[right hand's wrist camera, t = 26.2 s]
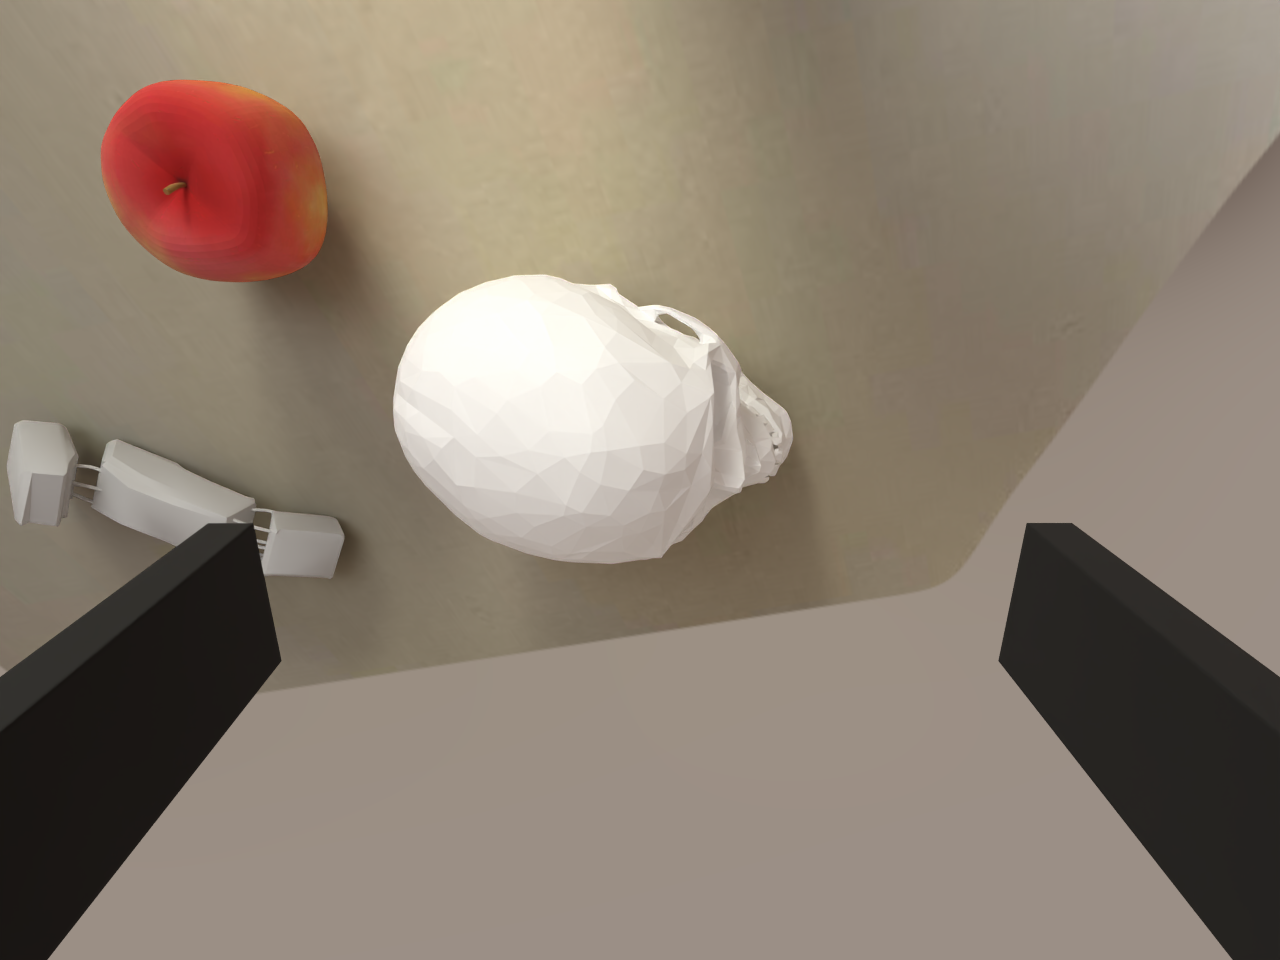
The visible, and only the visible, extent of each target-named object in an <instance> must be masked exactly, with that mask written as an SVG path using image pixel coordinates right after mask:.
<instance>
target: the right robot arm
mask: <svg viewBox="0 0 1280 960" xmlns="http://www.w3.org/2000/svg"><path fill="white" fill-rule="evenodd" d="M280 662H281V656H280V651H279V646H278V642H277V637H276V632H275V627H274V622H273V617H272V612H271V607H270V602H269V598H268V593H267V588H266V583H265V578H264V573H263V568H262V563H261V559H260V554H259V549H258V544H257V539H256V534H255V529H254V524H253V523H208V524H206V525H205V526H204V527H202V528H201V529H200V530H198V531H197V532H196V533H194V534H193V535H191V536H190V537H189V538H187V539H186V540H185V541H183V542H182V543H181V544H179V545H178V546H177V547H175V548H174V549H173V550H171V551H170V552H169V553H167V554H166V555H164V556H163V557H162V558H160V559H159V560H158V561H156V562H155V563H154V564H152V565H151V566H150V567H148V568H147V569H146V570H144V571H143V572H141V573H140V574H139V575H137V576H136V577H135V578H133V579H132V580H131V581H129V582H128V583H127V584H125V585H124V586H123V587H121V588H120V589H119V590H117V591H116V592H114V593H113V594H112V595H110V596H109V597H108V598H106V599H105V600H104V601H102V602H101V603H100V604H98V605H97V606H96V607H94V608H93V609H92V610H90V611H89V612H87V613H86V614H85V615H83V616H82V617H81V618H79V619H78V620H77V621H75V622H74V623H73V624H71V625H70V626H69V627H67V628H66V629H65V630H63V631H62V632H60V633H59V634H58V635H56V636H55V637H54V638H52V639H51V640H50V641H48V642H47V643H46V644H44V645H43V646H42V647H40V648H39V649H38V650H36V651H35V652H33V653H32V654H31V655H29V656H28V657H27V658H25V659H24V660H23V661H21V662H20V663H19V664H17V665H16V666H15V667H13V668H12V669H10V670H9V671H8V672H6V673H5V674H4V675H2V676H1V677H0V960H47V959H48V958H49V957H50V956H51V954H52V953H53V952H54V951H55V949H56V948H57V947H58V945H59V944H60V943H61V942H62V940H63V939H64V938H65V936H66V935H67V934H68V933H69V931H70V930H71V929H72V928H73V926H74V925H75V924H76V922H77V921H78V920H79V919H80V917H81V916H82V915H83V914H84V912H85V911H86V910H87V908H88V907H89V906H90V905H91V903H92V902H93V901H94V899H95V898H96V897H97V896H98V894H99V893H100V892H101V891H102V889H103V888H104V887H105V885H106V884H107V883H108V882H109V880H110V879H111V878H112V877H113V875H114V874H115V873H116V871H117V870H118V869H119V868H120V866H121V865H122V864H123V862H124V861H125V860H126V859H127V857H128V856H129V855H130V854H131V852H132V851H133V850H134V848H135V847H136V846H137V845H138V843H139V842H140V841H141V839H142V838H143V837H144V836H145V834H146V833H147V832H148V831H149V829H150V828H151V827H152V825H153V824H154V823H155V822H156V820H157V819H158V818H159V817H160V815H161V814H162V813H163V811H164V810H165V809H166V808H167V806H168V805H169V804H170V802H171V801H172V800H173V799H174V797H175V796H176V795H177V794H178V792H179V791H180V790H181V788H182V787H183V786H184V785H185V783H186V782H187V781H188V779H189V778H190V777H191V776H192V774H193V773H194V772H195V771H196V769H197V768H198V767H199V765H200V764H201V763H202V762H203V760H204V759H205V758H206V757H207V755H208V754H209V753H210V751H211V750H212V749H213V748H214V746H215V745H216V744H217V742H218V741H219V740H220V739H221V737H222V736H223V735H224V734H225V732H226V731H227V730H228V728H229V727H230V726H231V725H232V723H233V722H234V721H235V720H236V718H237V717H238V716H239V714H240V713H241V712H242V711H243V709H244V708H245V707H246V705H247V704H248V703H249V702H250V700H251V699H252V698H253V697H254V695H255V694H256V693H257V691H258V690H259V689H260V688H261V686H262V685H263V684H264V683H265V681H266V680H267V679H268V677H269V676H270V675H271V674H272V672H273V671H274V670H275V669H276V667H277V666H278V665H279V663H280ZM999 662H1000V663H1001V665H1002V666H1003V667H1004V668H1005V670H1006V671H1007V672H1008V674H1009V675H1010V676H1011V677H1012V679H1013V680H1014V681H1015V682H1016V684H1017V685H1018V686H1019V688H1020V689H1021V690H1022V691H1023V693H1024V694H1025V695H1026V697H1027V698H1028V699H1029V700H1030V702H1031V703H1032V704H1033V705H1034V707H1035V708H1036V709H1037V711H1038V712H1039V713H1040V714H1041V716H1042V717H1043V718H1044V720H1045V721H1046V722H1047V723H1048V725H1049V726H1050V727H1051V728H1052V730H1053V731H1054V732H1055V734H1056V735H1057V736H1058V737H1059V739H1060V740H1061V741H1062V743H1063V744H1064V745H1065V746H1066V748H1067V749H1068V750H1069V751H1070V753H1071V754H1072V755H1073V757H1074V758H1075V759H1076V760H1077V762H1078V763H1079V764H1080V765H1081V767H1082V768H1083V769H1084V771H1085V772H1086V773H1087V774H1088V776H1089V777H1090V778H1091V780H1092V781H1093V782H1094V783H1095V785H1096V786H1097V787H1098V788H1099V790H1100V791H1101V792H1102V794H1103V795H1104V796H1105V797H1106V799H1107V800H1108V801H1109V802H1110V804H1111V805H1112V806H1113V808H1114V809H1115V810H1116V811H1117V813H1118V814H1119V815H1120V817H1121V818H1122V819H1123V820H1124V822H1125V823H1126V824H1127V825H1128V827H1129V828H1130V829H1131V831H1132V832H1133V833H1134V834H1135V836H1136V837H1137V838H1138V839H1139V841H1140V842H1141V843H1142V845H1143V846H1144V847H1145V848H1146V850H1147V851H1148V852H1149V854H1150V855H1151V856H1152V857H1153V859H1154V860H1155V861H1156V862H1157V864H1158V865H1159V866H1160V868H1161V869H1162V870H1163V871H1164V873H1165V874H1166V875H1167V876H1168V878H1169V879H1170V880H1171V882H1172V883H1173V884H1174V885H1175V887H1176V888H1177V889H1178V891H1179V892H1180V893H1181V894H1182V896H1183V897H1184V898H1185V899H1186V901H1187V902H1188V903H1189V905H1190V906H1191V907H1192V908H1193V910H1194V911H1195V912H1196V913H1197V915H1198V916H1199V917H1200V919H1201V920H1202V921H1203V922H1204V924H1205V925H1206V926H1207V928H1208V929H1209V930H1210V931H1211V933H1212V934H1213V935H1214V936H1215V938H1216V939H1217V940H1218V942H1219V943H1220V944H1221V945H1222V947H1223V948H1224V949H1225V951H1226V952H1227V953H1228V954H1229V956H1230V957H1231V958H1232V959H1233V960H1280V677H1279V676H1278V675H1276V674H1275V673H1274V672H1272V671H1271V670H1269V669H1268V668H1267V667H1265V666H1264V665H1263V664H1261V663H1260V662H1259V661H1257V660H1256V659H1255V658H1253V657H1252V656H1251V655H1249V654H1248V653H1246V652H1245V651H1244V650H1242V649H1241V648H1240V647H1238V646H1237V645H1236V644H1234V643H1233V642H1232V641H1230V640H1229V639H1228V638H1226V637H1225V636H1224V635H1222V634H1221V633H1219V632H1218V631H1217V630H1215V629H1214V628H1213V627H1211V626H1210V625H1209V624H1207V623H1206V622H1205V621H1203V620H1202V619H1201V618H1199V617H1198V616H1197V615H1195V614H1194V613H1193V612H1191V611H1190V610H1188V609H1187V608H1186V607H1184V606H1183V605H1182V604H1180V603H1179V602H1178V601H1176V600H1175V599H1174V598H1172V597H1171V596H1170V595H1168V594H1167V593H1165V592H1164V591H1163V590H1161V589H1160V588H1159V587H1157V586H1156V585H1155V584H1153V583H1152V582H1151V581H1149V580H1148V579H1147V578H1145V577H1144V576H1143V575H1141V574H1140V573H1138V572H1137V571H1136V570H1134V569H1133V568H1132V567H1130V566H1129V565H1128V564H1126V563H1125V562H1124V561H1122V560H1121V559H1120V558H1118V557H1117V556H1116V555H1114V554H1113V553H1111V552H1110V551H1109V550H1107V549H1106V548H1105V547H1103V546H1102V545H1101V544H1099V543H1098V542H1097V541H1095V540H1094V539H1093V538H1091V537H1090V536H1088V535H1087V534H1086V533H1084V532H1083V531H1082V530H1080V529H1079V528H1078V527H1076V526H1075V525H1074V524H1072V523H1027V524H1026V530H1025V534H1024V539H1023V544H1022V549H1021V554H1020V559H1019V563H1018V568H1017V573H1016V578H1015V583H1014V588H1013V593H1012V598H1011V602H1010V607H1009V612H1008V617H1007V622H1006V627H1005V632H1004V637H1003V642H1002V646H1001V651H1000V656H999Z"/></svg>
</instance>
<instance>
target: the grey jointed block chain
mask: <svg viewBox="0 0 1280 960" xmlns="http://www.w3.org/2000/svg"><path fill="white" fill-rule="evenodd" d="M78 457H79V456H78V454H77V451H76V449H75V446H74V444H73V441H72V439H71V437H70V434H69V432H68V429H67V428H66V427H65V426H64V425H62V424H60V423H53V422H40V421H28V420H22V421H20V422H17V423H16V424H14V429H13V435H12V440H11V445H10V451H9V456H8V461H7V472H8V478H9V484H10V490H11V497H12V504H13V510H14V517H15V520H16V521H17V522H18V523H19V524H20V525H21V526H22V525H24V524H27V523H29V522H30V523H37V524H44V525H51V526H59V524H60V521H61V519H62V518H64V517H67V515H68V507H69V499H72V496H74V497H77V498H79V499H82V500H84V501H87V502H89V503H92V506H91V508H93V509H95V510H96V511H98V512H100V513H102V514H104V515H105V516H107V517H109V518H111V519H112V520H114V521H116V522H118V523H119V524H121V525H124V526H126V527H129V528H132V529H134V530H137V531H140V532H142V533H145V534H147V535H150V536H153V537H155V538H158V539H160V540H163V541H166V542H168V543H170V544H172V545H174V546H176V547H177V546H178V545H179V544H181V543H182V542H183V541H185V540H186V539H187V538H189V537H190V536H191V535H193V534H194V533H196V532H197V531H198V530H200V529H201V528H202V527H204V526H205V525H206V524H208V523H253V519H254V515H255V511H257V512H268V513H271V515H272V517H271V523H270V528H269V529H266V528H262V527H258V526H254V529H256V530H260V531H264V532H269V533H268V538H267V541H263V540H259V539H257V543H261V544H266V546H261V545H258V548H259V549H264V554H263V553H259V554H260V556H261V557H260V559H261V563H262V568H263V573H264V575H265V576H270V575H271V576H295V577H318V578H329V579H331V578H332V577H333V575H334V572H335V569H336V565H337V562H338V559H339V556H340V552H341V549H342V546H343V543H344V539H345V536H344V533H343V531H342V529H341V527H340V525H339V523H338V520H337V519H336V518H334V517H331V516H324V515H313V514H302V513H291V512H280V511H274V510H270V509H261V508H256V507H257V506H256V504H255V499H254V498H252V497H247V496H244V495H242V494H240V493H237V492H235V491H233V490H230V489H228V488H225V487H223V486H221V485H218V484H216V483H214V482H211V481H209V480H207V479H205V478H203V477H200V476H198V475H196V474H194V473H192V472H190V471H188V470H186V469H184V468H183V467H181V466H180V465H179V464H178V463H176V462H173V461H171V460H168V459H166V458H163V457H161V456H158V455H156V454H153V453H151V452H148V451H146V450H143V449H141V448H138V447H136V446H133V445H131V444H128V443H126V442H123V441H121V440H119V439H116V440H112V441H110V442H108V443H107V444H106V448H105V451H104V455H103V458H102V462H101V466H100V468H99V467H95V466H91V465H82V464H78ZM77 467H78V468H89V469H93V470H96V471H98V472H99V475H98V479H97V483H96V486H93V485H88V484H84V483H80V482H76V481H75V477H76V470H77ZM74 486H78V487H85V488H89V489H93V490H95V492H94V496H93V500H92V499H89V498H87V497H84V496H82V495H79V494H77V493H74V492H73V490H74Z"/></svg>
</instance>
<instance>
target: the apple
mask: <svg viewBox="0 0 1280 960" xmlns="http://www.w3.org/2000/svg"><path fill="white" fill-rule="evenodd" d="M101 168H102V177H103V182H104V185H105V189H106V191H107V194H108V197H109V199H110V202H111V204H112V206H113V208H114V210H115V212H116V214H117V216H118V217H119V219H120V221H121V222H122V224H123V225H124V226H125V228H126V229H127V230H128V231H129V233H130V234H131V235H132V236H133V237H134V238H135V239H136V240H137V241H138V242H139V243H140V244H141V245H142V246H143V247H144V248H145V249H146V250H147V251H148V252H150V253H151V254H152V255H153V256H155V257H156V258H157V259H158V260H160V261H161V262H163V263H164V264H166V265H167V266H169V267H171V268H173V269H175V270H176V271H179V272H181V273H184V274H186V275H190V276H193V277H197V278H201V279H206V280H213V281H223V282H251V281H262V280H269V279H273V278H278V277H281V276H285V275H288V274H291V273H293V272H295V271H297V270H299V269H301V268H303V267H304V266H306V265H307V264H309V263H310V262H311V261H312V260H313V259H314V258H315V257H316V255H317V254H318V252H319V251H320V249H321V247H322V244H323V242H324V238H325V234H326V227H327V192H326V184H325V178H324V173H323V168H322V164H321V160H320V156H319V153H318V150H317V148H316V145H315V143H314V141H313V139H312V137H311V136H310V134H309V132H308V130H307V129H306V127H305V125H304V124H303V123H302V121H301V120H300V119H299V118H298V117H297V116H296V115H295V114H294V113H293V112H292V111H290V110H289V109H287V108H286V107H285V106H283V105H281V104H280V103H278V102H276V101H275V100H273V99H271V98H269V97H267V96H265V95H262V94H260V93H258V92H255V91H253V90H250V89H247V88H244V87H240V86H236V85H232V84H227V83H221V82H212V81H198V80H171V81H163V82H158V83H155V84H152V85H149V86H147V87H144V88H143V89H141V90H139V91H137V92H136V93H135V94H133V95H132V96H131V97H130V98H129V99H128V100H127V101H126V102H125V103H124V104H123V105H122V106H121V107H120V109H119V110H118V111H117V112H116V114H115V115H114V117H113V119H112V120H111V122H110V124H109V126H108V128H107V131H106V133H105V135H104V138H103V142H102V146H101Z"/></svg>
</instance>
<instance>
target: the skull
mask: <svg viewBox="0 0 1280 960" xmlns="http://www.w3.org/2000/svg"><path fill="white" fill-rule="evenodd" d="M662 314H669V315H671V316H672V317H674V318H676V319H677V320H679V321H681V322H682V323H684V324H686V325H687V326H689V327H691V328H692V329H693V330H694V331H695V333H696V334H697V336H698V337H699V338H700V340H699V339H697V338H695V337H693V336H689V335H685V334H682V333H681V332H679V331H677V330H675V329H672V328H670V327H669V326H667V325H666V324H664V323H663V321H662V320H661V319H660V317H659V316H658V315H662ZM393 416H394V427H395V432H396V434H397V437H398V439H399V442H400V444H401V447H402V449H403V452H404V455H405V457H406V459H407V460H408V462H409V464H410V465H411V467H412V469H413V470H414V472H415V473H416V474H417V476H418V477H419V478H420V479H421V481H422V482H423V483H424V484H425V486H426V487H427V488H428V489H429V490H430V491H431V492H432V493H433V494H435V495H436V496H437V497H438V498H439V499H440V500H441V501H442V502H443V503H444V504H445V505H446V506H447V507H448V508H449V509H450V510H451V511H452V512H453V513H454V514H455V515H456V516H457V517H458V518H459V519H461V520H462V521H463V522H464V523H466V524H467V525H468V526H470V527H471V528H472V529H473V530H475V531H476V532H477V533H478V534H480V535H481V536H483V537H485V538H487V539H489V540H492V541H494V542H497V543H500V544H502V545H505V546H508V547H510V548H513V549H516V550H518V551H521V552H524V553H526V554H531V555H535V556H539V557H543V558H547V559H551V560H558V561H566V562H579V563H603V564H615V563H622V562H629V561H636V560H647V559H652V558H662V556H663V555H664V553H665V552H666V551H667V550H668V549H669V547H670V546H671V545H673V544H675V543H678V542H680V541H682V540H683V539H684V538H685V537H686V536H687V535H688V534H689V533H690V532H691V531H692V530H693V529H694V528H695V527H696V526H697V525H699V524H700V523H701V522H702V521H703V519H704V518H705V516H706V515H707V514H708V512H709V511H710V510H711V509H712V508H713V507H714V506H716V505H718V504H719V503H721V502H723V501H724V500H726V499H727V498H729V497H731V496H732V495H734V494H737V493H740V492H741V490H742V487H746V486H750V485H754V484H757V483H766V482H767V481H768V480H769V476H775V475H776V473H777V471H778V469H779V466H780V465H781V464H782V463H783V462H784V460H785V459H786V457H787V456H788V453H789V450H790V447H791V444H792V441H793V433H792V425H791V420H790V418H789V416H788V413H787V412H786V410H785V409H784V408H783V407H781V406H780V405H779V404H778V403H776V402H775V401H774V400H772V399H771V398H770V397H768V396H767V395H766V394H764V393H763V392H762V391H761V390H760V389H759V388H757V387H756V386H755V385H754V384H753V383H752V382H751V381H750V380H749V379H748V378H747V377H746V376H745V375H744V374H743V372H742V369H741V367H740V365H739V362H738V361H737V359H736V358H735V357H734V355H733V354H732V352H731V351H730V349H729V348H728V347H727V345H726V344H725V343H724V342H723V340H722V339H721V338H720V337H719V336H718V335H717V334H716V333H715V332H714V331H713V330H712V329H711V328H710V327H708V326H707V325H705V324H704V323H702V322H701V321H699V320H698V319H696V318H695V317H693V316H690V315H688V314H685V313H683V312H681V311H678V310H676V309H673V308H671V307H666V306H661V305H650V306H642V307H638V306H636V305H635V304H633V303H632V302H630V301H629V300H627V299H626V298H624V297H623V296H622V295H620V294H619V293H618V291H617V288H616V287H614V286H613V285H611V284H598V285H586V284H573V283H571V282H569V281H566V280H564V279H562V278H558V277H554V276H549V275H545V274H541V275H514V276H510V277H506V278H501V279H497V280H493V281H488V282H485V283H482V284H480V285H478V286H475V287H473V288H470V289H468V290H465V291H463V292H461V293H459V294H457V295H456V296H455V297H453V298H452V299H450V300H449V301H448V302H446V303H445V304H443V305H442V306H441V307H439V308H438V309H437V310H436V311H434V312H433V313H432V314H431V315H430V316H429V317H428V318H427V319H426V320H425V321H424V322H423V323H422V324H421V325H420V326H419V327H418V329H417V330H416V332H415V334H414V335H413V337H412V338H411V340H410V341H409V343H408V345H407V347H406V349H405V352H404V354H403V357H402V359H401V362H400V364H399V366H398V371H397V378H396V385H395V391H394V398H393ZM767 475H768V476H767Z"/></svg>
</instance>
